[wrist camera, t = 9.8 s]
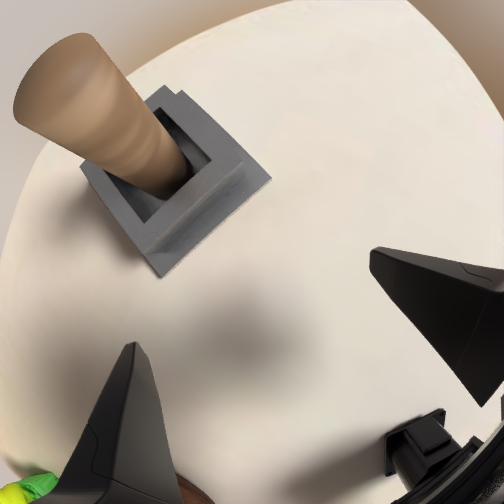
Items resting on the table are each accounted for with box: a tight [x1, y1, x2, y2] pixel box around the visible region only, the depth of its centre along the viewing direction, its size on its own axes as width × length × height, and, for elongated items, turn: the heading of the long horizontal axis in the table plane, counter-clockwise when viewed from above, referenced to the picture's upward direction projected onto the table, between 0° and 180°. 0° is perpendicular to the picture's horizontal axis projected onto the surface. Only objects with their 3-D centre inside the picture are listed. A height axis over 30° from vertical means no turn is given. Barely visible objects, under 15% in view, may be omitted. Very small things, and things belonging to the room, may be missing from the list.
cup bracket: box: [80, 85, 272, 278], centre depth 17 cm, size 10×10×4 cm
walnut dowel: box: [13, 33, 193, 201], centre depth 12 cm, size 4×4×13 cm
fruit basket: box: [0, 472, 58, 504], centre depth 15 cm, size 11×9×11 cm
